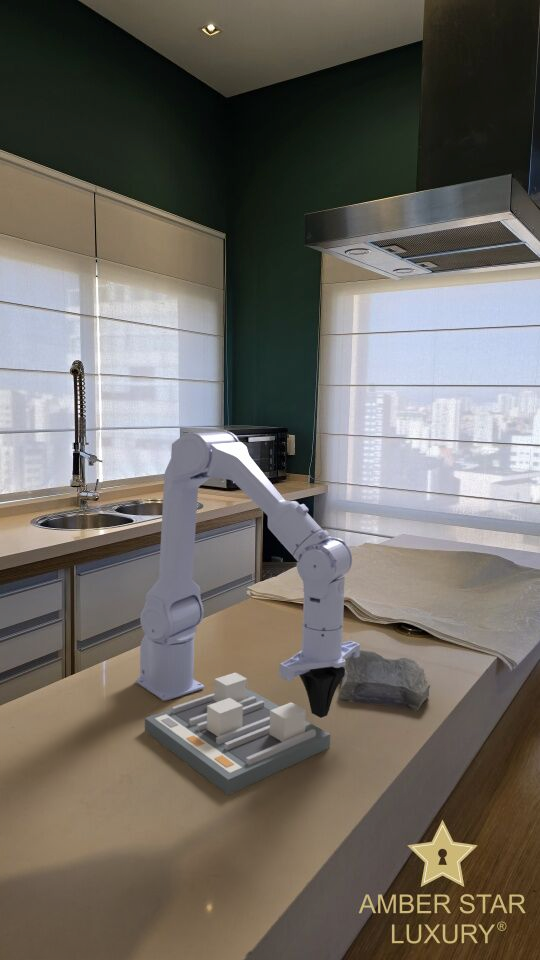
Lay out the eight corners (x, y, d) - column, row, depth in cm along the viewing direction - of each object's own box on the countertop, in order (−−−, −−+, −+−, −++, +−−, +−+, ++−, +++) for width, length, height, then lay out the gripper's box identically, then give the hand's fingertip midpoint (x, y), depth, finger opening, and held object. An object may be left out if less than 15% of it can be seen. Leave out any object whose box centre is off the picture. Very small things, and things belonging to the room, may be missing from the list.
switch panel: (144, 730, 97) (144, 712, 97) (241, 697, 109) (241, 680, 108) (228, 794, 82) (228, 773, 82) (329, 747, 94) (330, 728, 93)
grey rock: (427, 715, 105) (428, 692, 104) (329, 700, 109) (330, 679, 109) (430, 676, 120) (432, 656, 119) (344, 665, 124) (345, 645, 123)
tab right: (269, 734, 93) (270, 710, 92) (290, 725, 95) (291, 702, 95) (283, 742, 90) (284, 718, 90) (305, 733, 93) (305, 710, 92)
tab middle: (206, 729, 93) (207, 705, 93) (229, 720, 96) (229, 697, 96) (219, 737, 91) (219, 713, 91) (242, 728, 94) (242, 705, 93)
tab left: (214, 700, 102) (214, 678, 102) (234, 693, 105) (235, 672, 104) (226, 707, 100) (226, 685, 100) (246, 700, 103) (247, 678, 102)
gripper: (305, 643, 87) (302, 740, 89) (377, 621, 97) (373, 709, 98) (270, 628, 93) (267, 720, 94) (341, 609, 102) (338, 693, 104)
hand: (319, 714), depth 97 cm, fingers closed
